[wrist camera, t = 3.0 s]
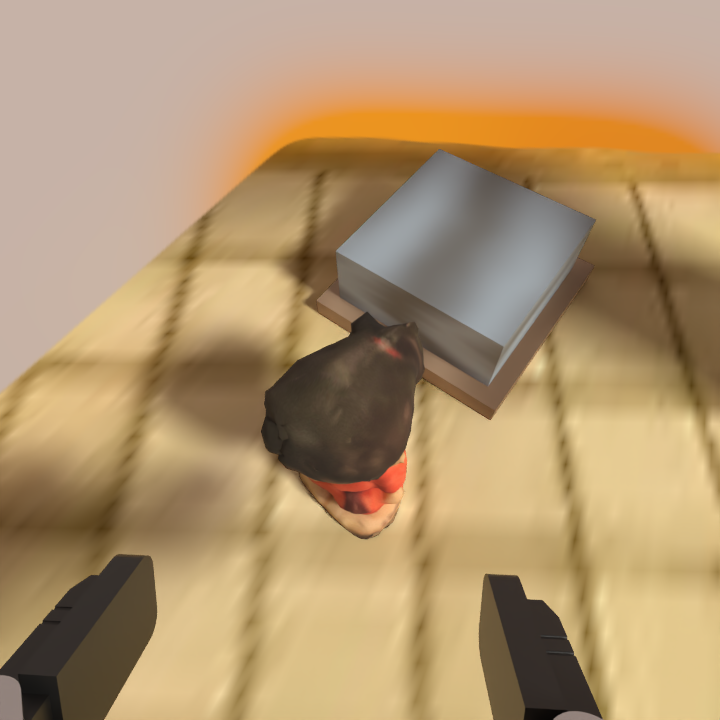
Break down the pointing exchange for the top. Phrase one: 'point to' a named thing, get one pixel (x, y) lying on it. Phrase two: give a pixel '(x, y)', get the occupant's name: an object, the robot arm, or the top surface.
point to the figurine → (350, 421)
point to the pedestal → (464, 274)
